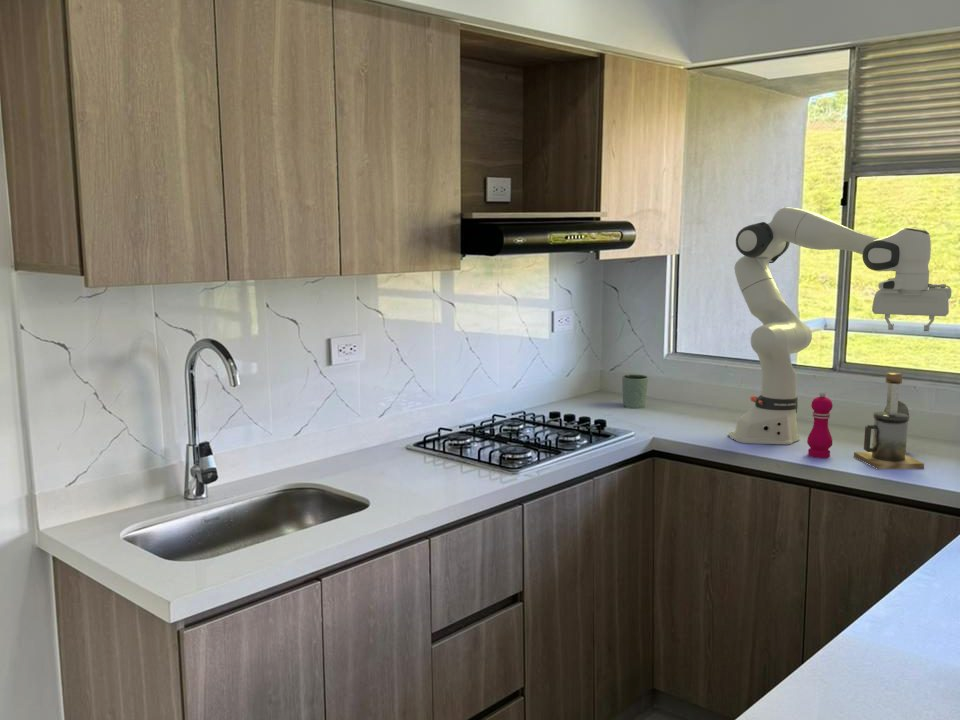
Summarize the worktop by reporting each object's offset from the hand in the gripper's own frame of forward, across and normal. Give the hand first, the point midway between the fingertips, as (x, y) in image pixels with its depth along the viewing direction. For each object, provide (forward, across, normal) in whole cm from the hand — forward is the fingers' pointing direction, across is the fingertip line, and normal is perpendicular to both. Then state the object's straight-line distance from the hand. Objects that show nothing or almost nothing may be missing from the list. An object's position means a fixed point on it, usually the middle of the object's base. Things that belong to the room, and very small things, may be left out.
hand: (908, 330), depth 254 cm
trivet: (+39, +3, +4) cm, 40 cm away
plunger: (+25, +3, +4) cm, 25 cm away
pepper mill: (+40, +22, +5) cm, 46 cm away
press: (+38, +4, +5) cm, 38 cm away
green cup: (+39, +96, -41) cm, 111 cm away
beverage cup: (+40, +2, -14) cm, 42 cm away
